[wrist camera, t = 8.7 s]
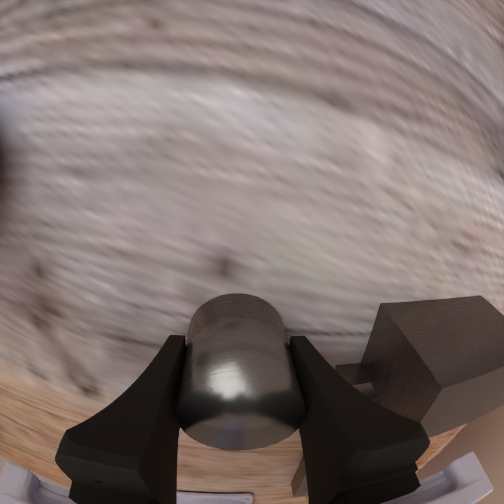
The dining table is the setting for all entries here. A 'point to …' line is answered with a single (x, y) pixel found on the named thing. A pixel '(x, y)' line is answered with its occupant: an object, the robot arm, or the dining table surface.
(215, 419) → the ball
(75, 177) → the dining table surface
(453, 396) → the scale
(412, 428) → the robot arm
